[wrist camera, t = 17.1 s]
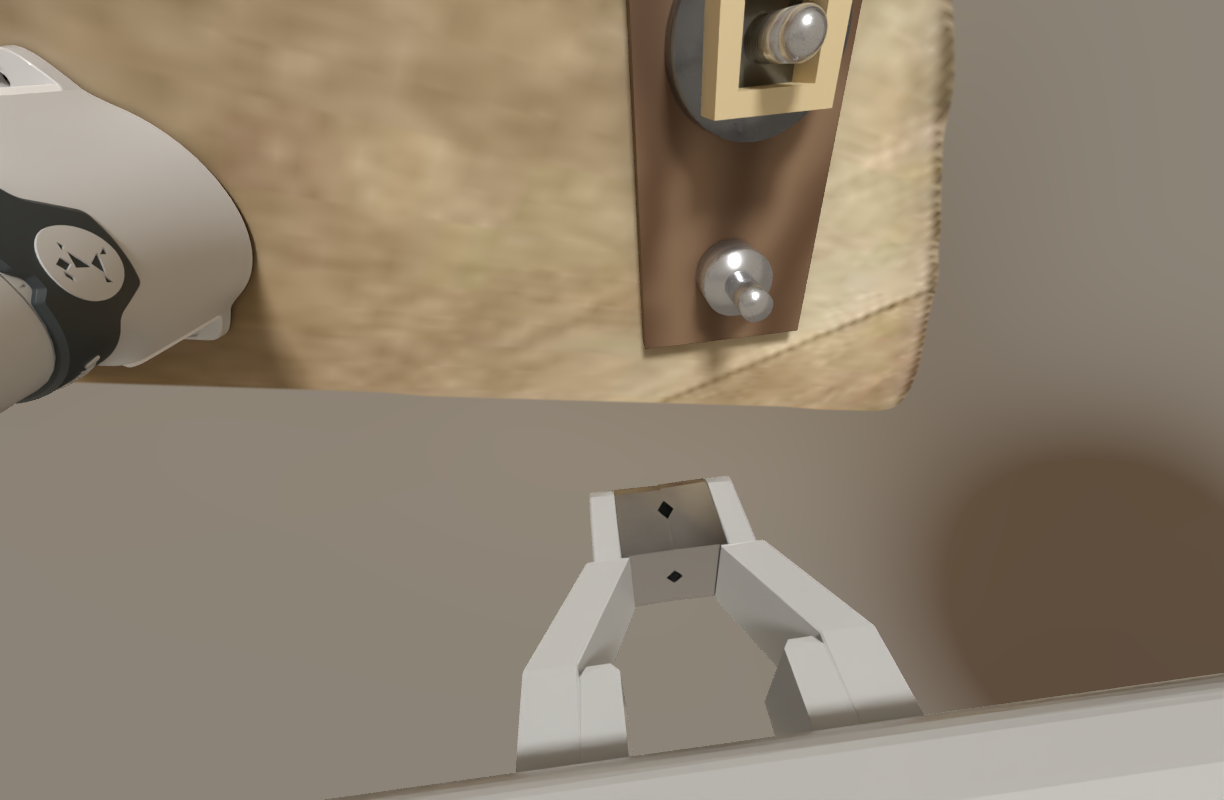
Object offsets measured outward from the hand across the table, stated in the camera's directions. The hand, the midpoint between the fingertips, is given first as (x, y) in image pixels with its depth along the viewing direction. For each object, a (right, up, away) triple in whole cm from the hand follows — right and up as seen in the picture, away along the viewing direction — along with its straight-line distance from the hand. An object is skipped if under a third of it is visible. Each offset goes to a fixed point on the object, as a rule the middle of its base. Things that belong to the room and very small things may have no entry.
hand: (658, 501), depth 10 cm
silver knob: (+8, +13, +26) cm, 30 cm away
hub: (+7, +24, +17) cm, 31 cm away
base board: (+8, +20, +23) cm, 31 cm away
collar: (+7, +22, +15) cm, 28 cm away
